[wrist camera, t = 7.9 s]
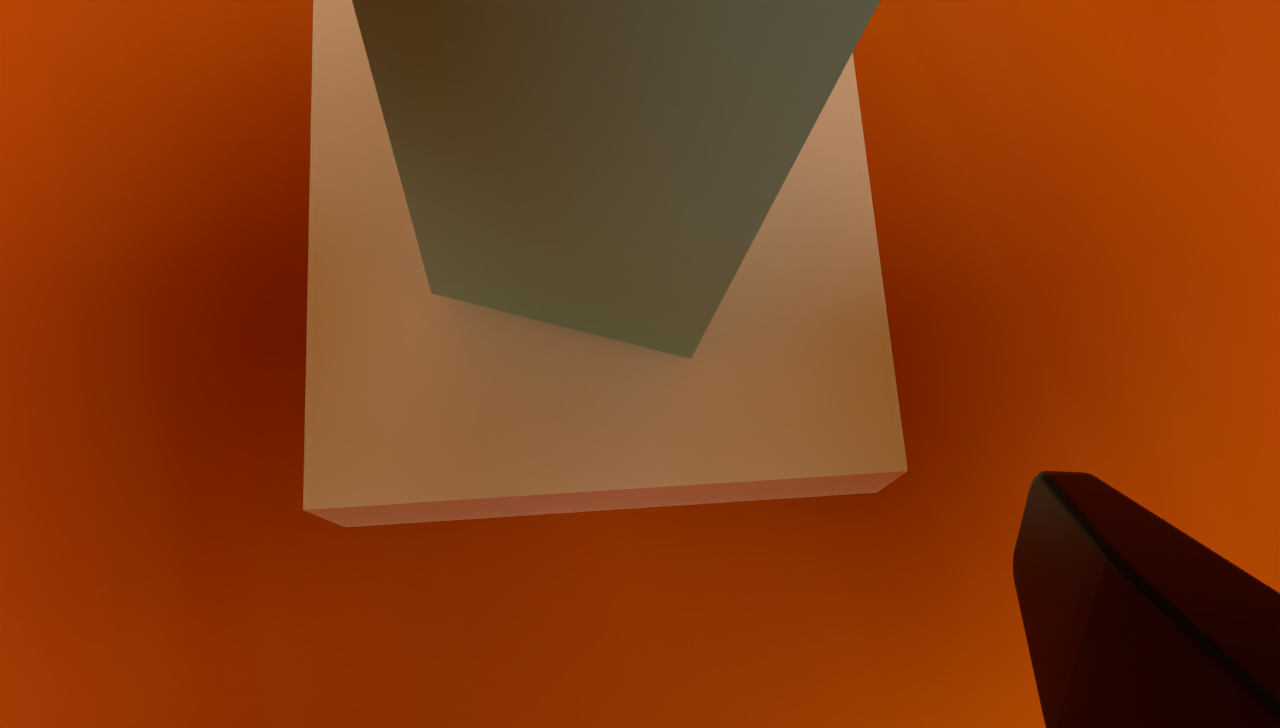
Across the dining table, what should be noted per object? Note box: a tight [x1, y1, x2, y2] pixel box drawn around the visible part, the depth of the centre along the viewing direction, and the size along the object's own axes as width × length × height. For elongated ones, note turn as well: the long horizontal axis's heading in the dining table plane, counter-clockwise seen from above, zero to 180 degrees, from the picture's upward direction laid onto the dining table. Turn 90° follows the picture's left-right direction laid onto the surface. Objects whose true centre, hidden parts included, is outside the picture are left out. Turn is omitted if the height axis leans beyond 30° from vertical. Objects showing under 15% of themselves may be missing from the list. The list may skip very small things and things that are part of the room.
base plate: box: [303, 0, 908, 527], centre depth 20 cm, size 10×10×3 cm
